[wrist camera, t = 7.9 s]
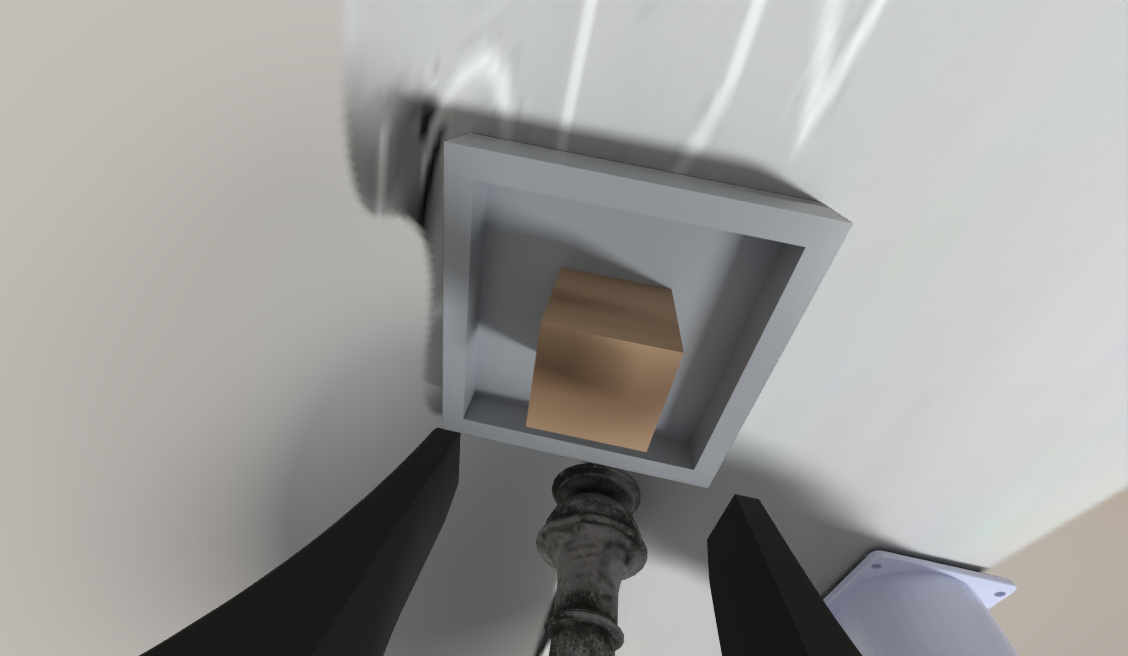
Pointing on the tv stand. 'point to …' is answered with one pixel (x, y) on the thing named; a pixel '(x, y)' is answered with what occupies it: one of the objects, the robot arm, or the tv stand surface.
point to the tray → (630, 252)
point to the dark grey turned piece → (590, 557)
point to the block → (604, 359)
